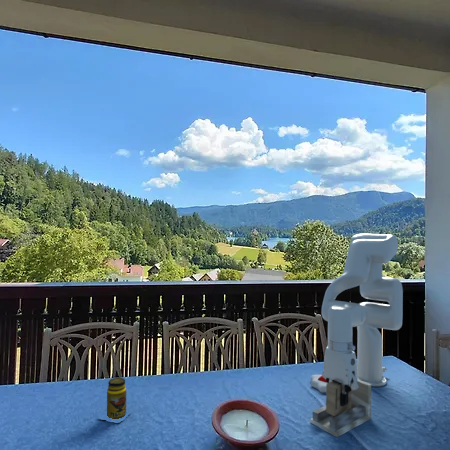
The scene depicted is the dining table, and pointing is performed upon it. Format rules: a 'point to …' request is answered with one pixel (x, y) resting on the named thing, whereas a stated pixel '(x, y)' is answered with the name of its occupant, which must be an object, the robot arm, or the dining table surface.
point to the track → (355, 402)
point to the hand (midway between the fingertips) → (339, 402)
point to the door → (335, 398)
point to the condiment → (116, 398)
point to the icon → (319, 383)
